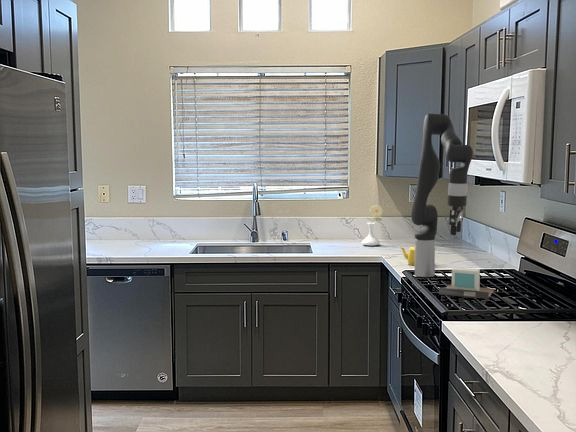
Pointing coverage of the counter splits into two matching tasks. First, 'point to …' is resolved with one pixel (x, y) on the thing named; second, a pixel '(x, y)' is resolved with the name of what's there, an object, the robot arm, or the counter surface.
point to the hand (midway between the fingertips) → (455, 233)
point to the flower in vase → (371, 239)
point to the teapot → (410, 255)
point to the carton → (465, 278)
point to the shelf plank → (467, 292)
